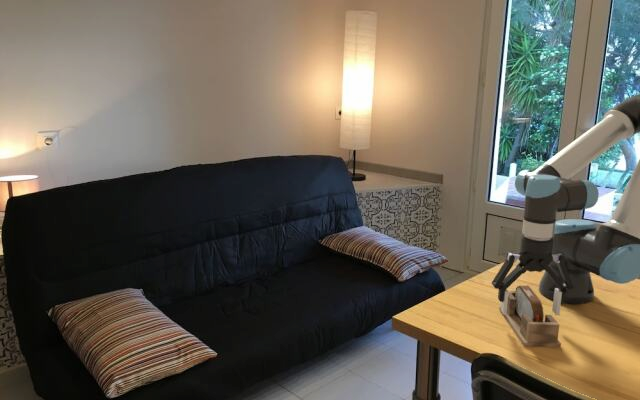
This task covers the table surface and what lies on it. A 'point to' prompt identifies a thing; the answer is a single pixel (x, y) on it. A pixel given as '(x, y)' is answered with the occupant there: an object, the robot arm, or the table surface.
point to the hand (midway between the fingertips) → (529, 312)
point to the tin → (528, 304)
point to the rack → (531, 327)
